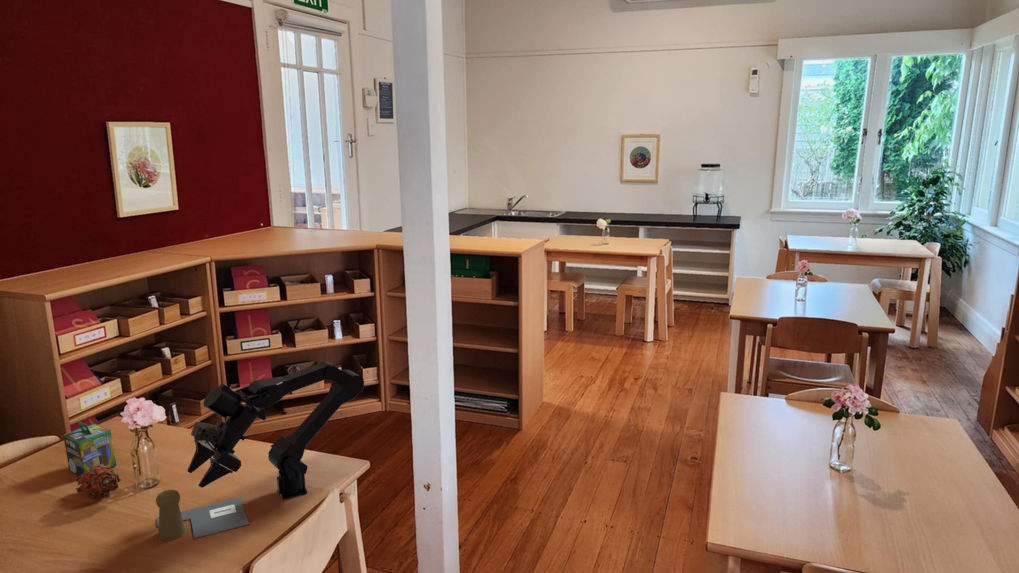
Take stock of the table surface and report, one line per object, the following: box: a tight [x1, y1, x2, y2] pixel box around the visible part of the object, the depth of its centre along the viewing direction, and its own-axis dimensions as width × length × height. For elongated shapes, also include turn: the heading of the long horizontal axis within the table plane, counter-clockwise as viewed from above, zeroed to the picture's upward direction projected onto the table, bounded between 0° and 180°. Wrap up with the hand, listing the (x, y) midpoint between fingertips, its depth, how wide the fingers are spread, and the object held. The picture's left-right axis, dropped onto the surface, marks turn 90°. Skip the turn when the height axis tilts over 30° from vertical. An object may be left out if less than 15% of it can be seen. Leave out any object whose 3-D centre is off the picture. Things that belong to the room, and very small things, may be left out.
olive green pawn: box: [155, 489, 187, 542], centre depth 163 cm, size 6×6×11 cm
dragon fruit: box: [75, 465, 122, 498], centre depth 181 cm, size 8×8×12 cm
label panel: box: [156, 497, 250, 540], centre depth 169 cm, size 20×14×1 cm
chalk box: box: [62, 420, 117, 477], centre depth 193 cm, size 9×9×15 cm
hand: (194, 479), depth 165 cm, fingers open, 9 cm apart
